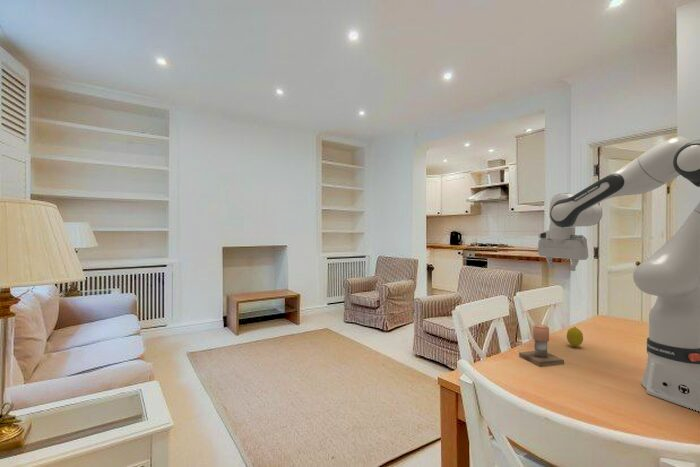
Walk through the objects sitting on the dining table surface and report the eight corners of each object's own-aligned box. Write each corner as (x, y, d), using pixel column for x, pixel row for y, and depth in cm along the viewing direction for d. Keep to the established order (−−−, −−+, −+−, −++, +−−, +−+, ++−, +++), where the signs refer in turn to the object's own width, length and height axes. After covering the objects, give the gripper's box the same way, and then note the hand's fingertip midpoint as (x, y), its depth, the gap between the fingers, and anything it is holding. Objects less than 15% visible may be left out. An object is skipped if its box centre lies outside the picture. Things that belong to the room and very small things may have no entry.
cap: (545, 337, 125) (545, 324, 125) (551, 341, 120) (551, 328, 120) (530, 337, 125) (530, 323, 125) (536, 341, 120) (536, 327, 120)
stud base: (564, 364, 119) (564, 342, 119) (540, 366, 116) (540, 345, 116) (541, 353, 129) (541, 334, 128) (519, 356, 126) (519, 336, 126)
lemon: (582, 350, 132) (582, 329, 132) (565, 347, 136) (566, 327, 136) (583, 346, 137) (583, 326, 137) (567, 343, 140) (567, 324, 140)
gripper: (593, 235, 126) (592, 272, 126) (547, 234, 146) (547, 266, 146) (579, 235, 124) (579, 273, 124) (535, 234, 144) (535, 266, 144)
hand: (561, 269), depth 135 cm, fingers open, 8 cm apart
